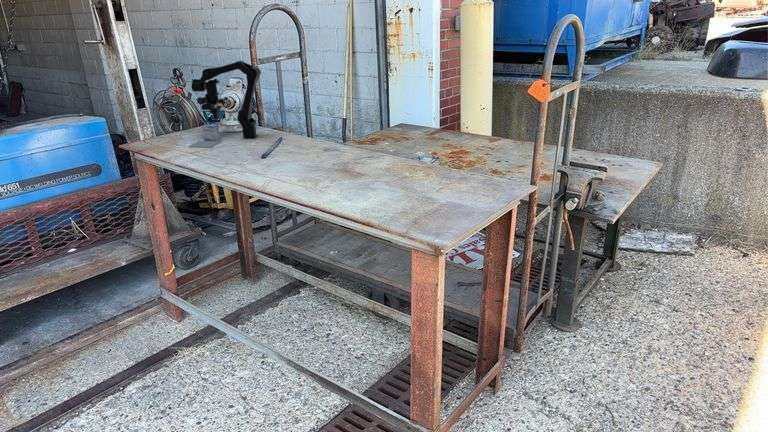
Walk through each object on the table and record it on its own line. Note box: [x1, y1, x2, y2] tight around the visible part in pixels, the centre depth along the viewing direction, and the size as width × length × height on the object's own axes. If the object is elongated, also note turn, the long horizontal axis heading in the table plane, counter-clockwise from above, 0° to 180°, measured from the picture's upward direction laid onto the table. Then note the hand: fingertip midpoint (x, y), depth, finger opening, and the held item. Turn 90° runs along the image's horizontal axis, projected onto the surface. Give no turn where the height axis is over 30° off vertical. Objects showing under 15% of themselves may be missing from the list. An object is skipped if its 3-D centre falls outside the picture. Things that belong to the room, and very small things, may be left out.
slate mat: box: [188, 140, 221, 149], centre depth 298 cm, size 13×12×1 cm
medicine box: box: [201, 124, 221, 141], centre depth 305 cm, size 8×4×9 cm, turn 76°
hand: (216, 119), depth 309 cm, fingers closed
